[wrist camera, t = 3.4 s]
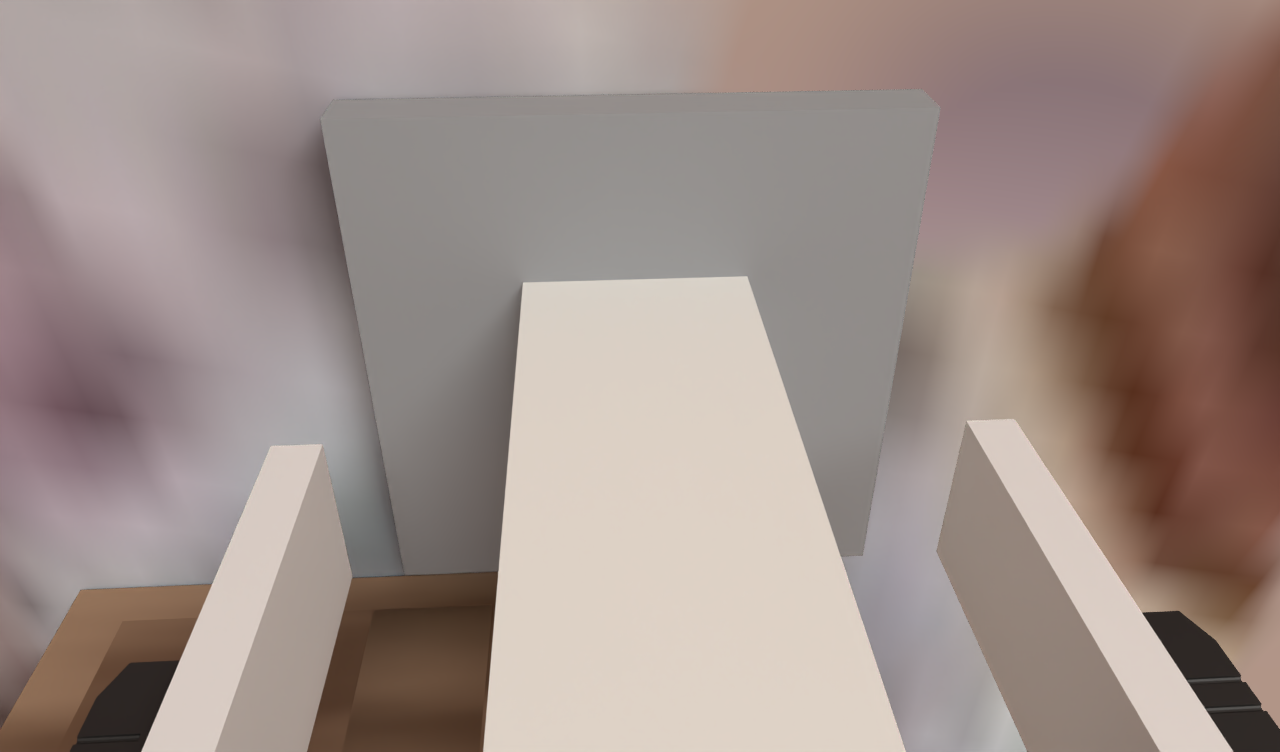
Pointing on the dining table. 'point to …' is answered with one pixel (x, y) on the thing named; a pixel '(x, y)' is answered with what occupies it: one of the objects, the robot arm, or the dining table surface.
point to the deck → (619, 265)
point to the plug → (668, 539)
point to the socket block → (355, 683)
